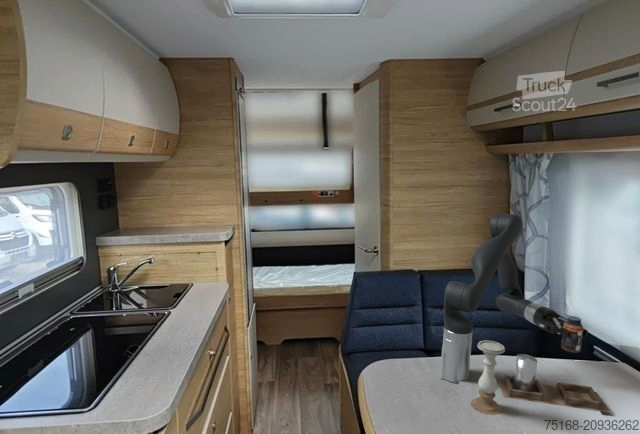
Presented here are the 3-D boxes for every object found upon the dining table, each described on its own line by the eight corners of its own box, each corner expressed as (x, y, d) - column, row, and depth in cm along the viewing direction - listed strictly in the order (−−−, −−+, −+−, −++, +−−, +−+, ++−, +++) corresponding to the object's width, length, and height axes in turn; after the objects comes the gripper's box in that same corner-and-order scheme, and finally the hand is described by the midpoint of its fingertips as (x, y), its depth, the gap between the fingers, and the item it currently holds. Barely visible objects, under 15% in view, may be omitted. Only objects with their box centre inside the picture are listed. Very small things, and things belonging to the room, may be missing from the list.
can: (515, 394, 140) (518, 361, 138) (511, 384, 146) (514, 353, 144) (535, 396, 139) (539, 364, 137) (531, 387, 144) (534, 355, 143)
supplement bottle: (583, 354, 147) (587, 322, 145) (564, 352, 148) (567, 320, 146) (576, 346, 152) (580, 315, 151) (558, 345, 154) (561, 313, 152)
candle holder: (507, 412, 132) (513, 347, 129) (489, 421, 127) (495, 354, 124) (481, 398, 139) (487, 336, 136) (464, 406, 134) (469, 343, 131)
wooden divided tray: (503, 400, 138) (503, 391, 138) (497, 381, 150) (498, 372, 149) (610, 415, 131) (611, 406, 131) (595, 394, 143) (597, 386, 142)
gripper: (525, 307, 160) (563, 325, 144) (557, 304, 164) (597, 321, 148) (523, 327, 161) (560, 347, 145) (555, 324, 165) (594, 343, 149)
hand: (578, 334), depth 147 cm, fingers closed on supplement bottle, 6 cm apart
